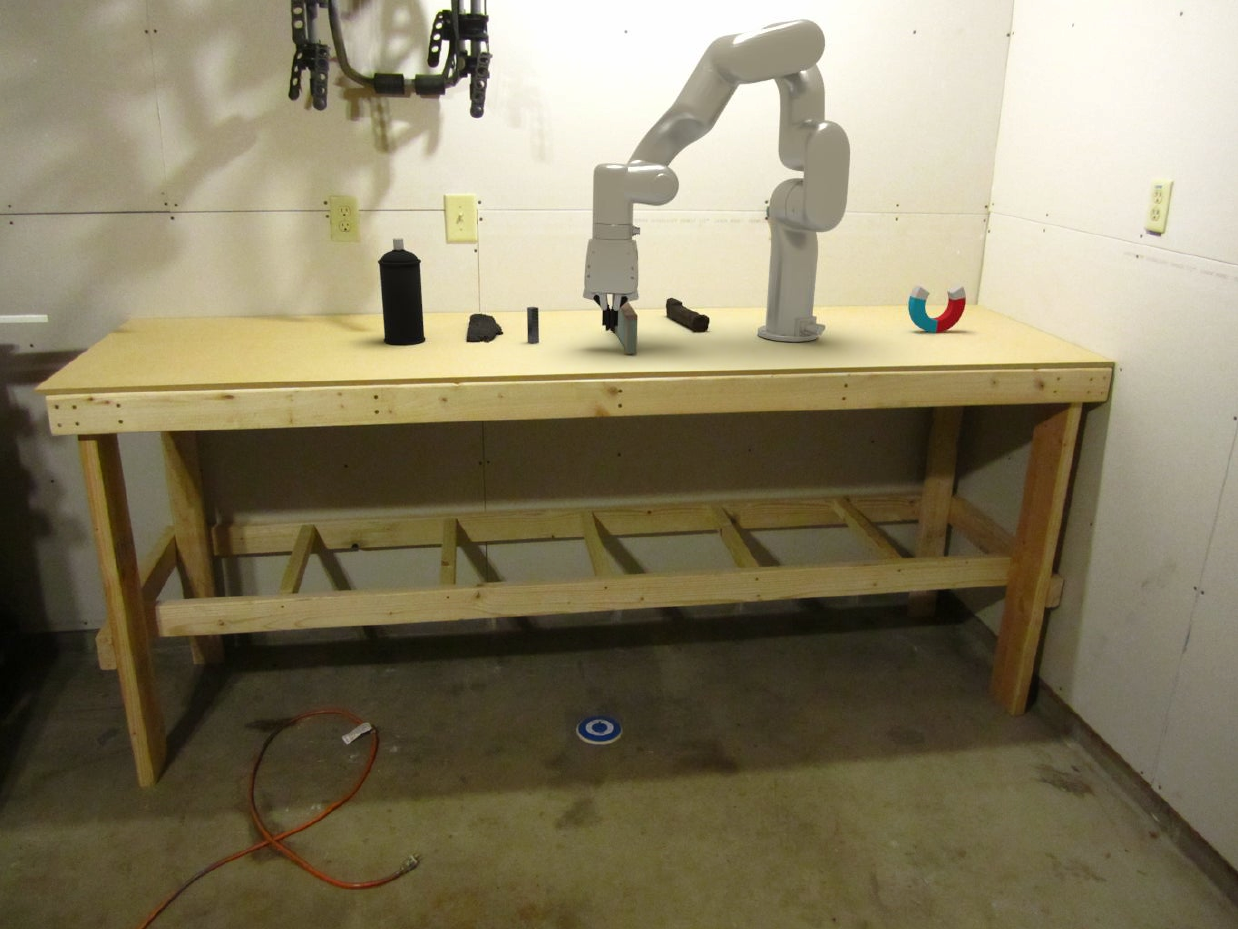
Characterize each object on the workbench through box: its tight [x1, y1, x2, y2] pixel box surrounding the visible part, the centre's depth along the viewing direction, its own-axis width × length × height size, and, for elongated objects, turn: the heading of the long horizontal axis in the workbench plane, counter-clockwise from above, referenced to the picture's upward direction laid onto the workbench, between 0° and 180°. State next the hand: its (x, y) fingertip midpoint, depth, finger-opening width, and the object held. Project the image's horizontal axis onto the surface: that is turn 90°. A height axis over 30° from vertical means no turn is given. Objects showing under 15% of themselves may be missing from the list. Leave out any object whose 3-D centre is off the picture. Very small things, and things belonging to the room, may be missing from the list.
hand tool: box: [665, 297, 711, 333], centre depth 207 cm, size 19×4×5 cm, turn 17°
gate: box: [615, 302, 638, 354], centre depth 186 cm, size 2×19×7 cm, turn 6°
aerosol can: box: [377, 237, 426, 346], centre depth 184 cm, size 8×8×20 cm
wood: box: [466, 312, 504, 344], centre depth 197 cm, size 22×7×3 cm, turn 6°
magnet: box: [907, 284, 967, 334], centre depth 201 cm, size 12×3×10 cm, turn 97°
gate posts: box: [526, 294, 623, 344], centre depth 192 cm, size 3×23×9 cm, turn 124°
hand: (610, 329), depth 182 cm, fingers closed
